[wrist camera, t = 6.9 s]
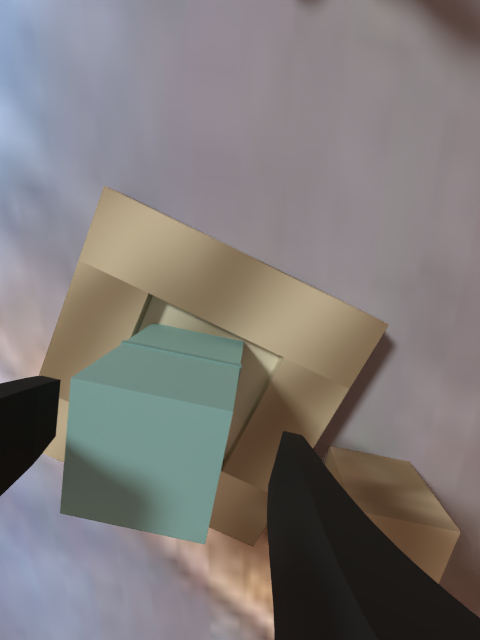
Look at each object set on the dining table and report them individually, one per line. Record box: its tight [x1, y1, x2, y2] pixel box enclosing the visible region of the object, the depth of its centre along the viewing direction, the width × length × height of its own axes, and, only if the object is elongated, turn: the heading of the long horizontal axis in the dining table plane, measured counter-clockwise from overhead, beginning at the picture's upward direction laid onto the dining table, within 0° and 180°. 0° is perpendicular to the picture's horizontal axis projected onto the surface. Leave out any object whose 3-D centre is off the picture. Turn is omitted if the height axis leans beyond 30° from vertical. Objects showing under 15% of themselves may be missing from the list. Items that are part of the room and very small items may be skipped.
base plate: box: [39, 186, 388, 546], centre depth 14 cm, size 12×12×2 cm
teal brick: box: [60, 323, 244, 544], centre depth 11 cm, size 4×4×6 cm
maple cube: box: [325, 446, 460, 584], centre depth 14 cm, size 4×4×4 cm
